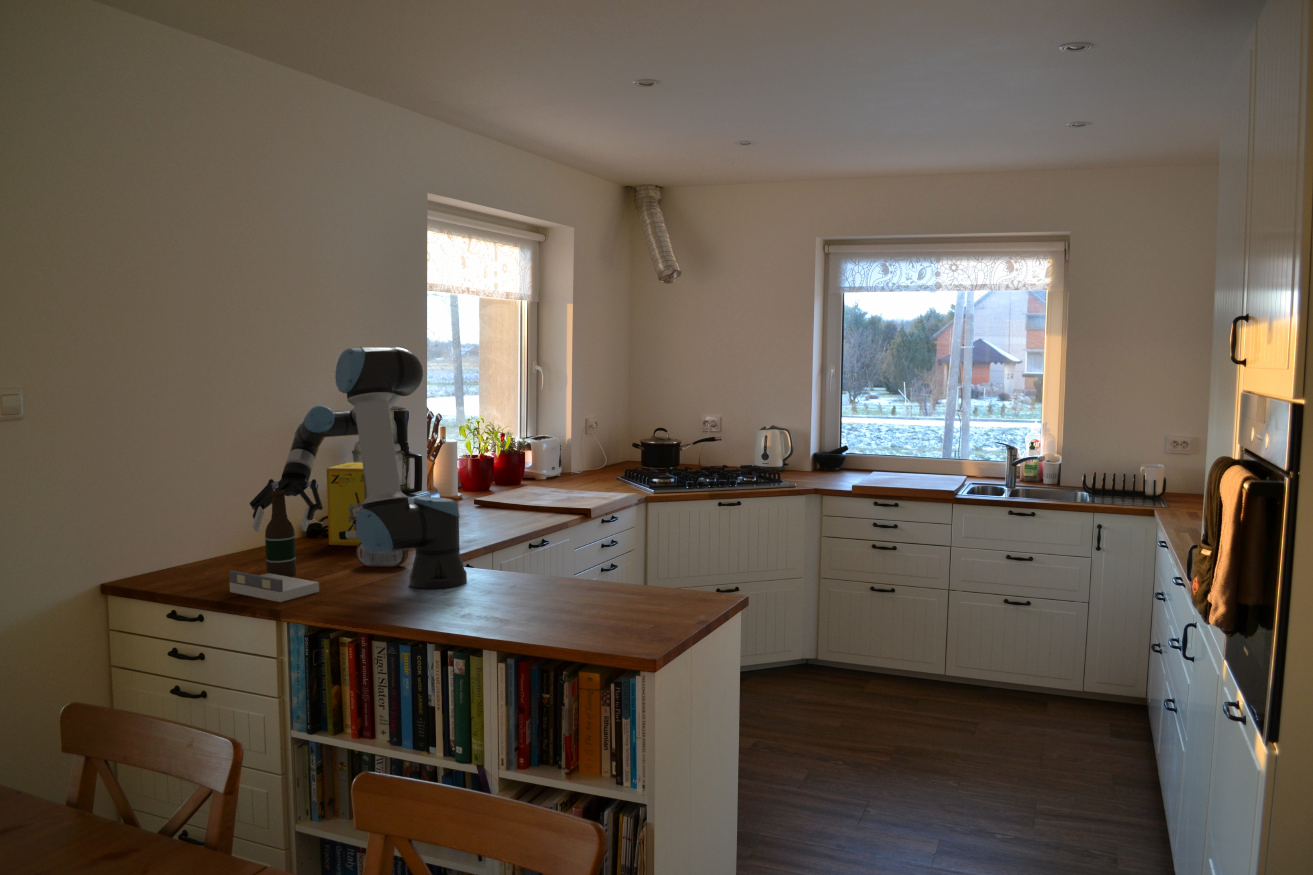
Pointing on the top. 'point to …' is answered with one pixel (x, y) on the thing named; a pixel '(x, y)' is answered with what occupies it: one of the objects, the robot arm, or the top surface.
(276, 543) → the beer bottle
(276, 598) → the grey slab
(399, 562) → the tin
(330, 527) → the packaging box
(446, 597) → the top surface
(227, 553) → the top surface
